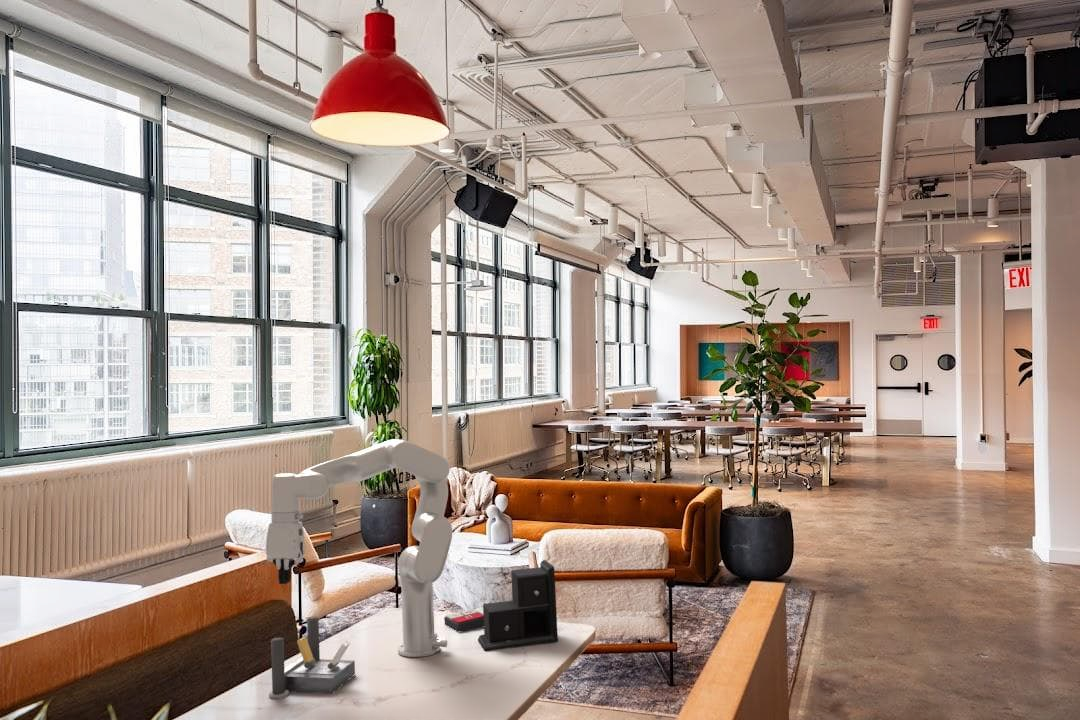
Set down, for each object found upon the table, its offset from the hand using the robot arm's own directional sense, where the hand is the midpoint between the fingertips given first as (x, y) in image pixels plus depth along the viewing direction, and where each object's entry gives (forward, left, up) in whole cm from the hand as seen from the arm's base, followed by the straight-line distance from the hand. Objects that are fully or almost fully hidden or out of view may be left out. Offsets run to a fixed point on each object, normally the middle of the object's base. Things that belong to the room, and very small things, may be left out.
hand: (284, 582), depth 240 cm
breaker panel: (-10, +3, -27) cm, 29 cm away
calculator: (-37, -55, -27) cm, 72 cm away
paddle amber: (-8, +3, -21) cm, 23 cm away
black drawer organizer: (-57, -38, -27) cm, 74 cm away
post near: (-4, +13, -27) cm, 30 cm away
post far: (-4, -7, -27) cm, 28 cm away
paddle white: (-15, +3, -21) cm, 26 cm away
